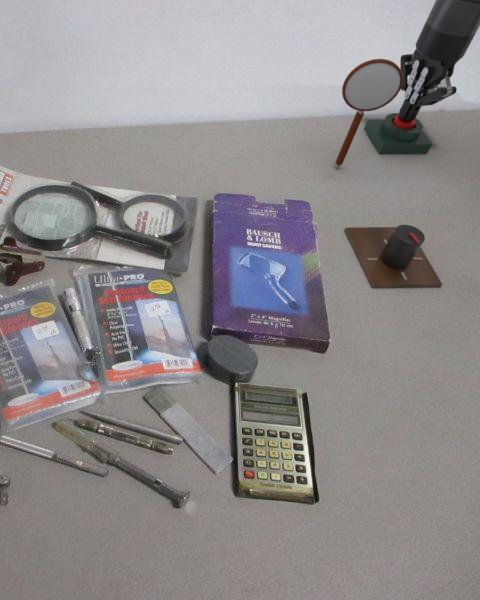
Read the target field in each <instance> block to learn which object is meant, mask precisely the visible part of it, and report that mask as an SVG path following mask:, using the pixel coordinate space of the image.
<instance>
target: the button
mask: <svg viewBox="0 0 480 600" xmlns="http://www.w3.org/2000/svg"><path fill="white" fill-rule="evenodd" d="M392 123H393V124H394V125H395V126H397V127H398V128H401V129H405V130H411V129H413V127H414V125H415V123H416V120H415V119H414V120H412V121H407V122H403V121H402V120H401V119H400V118H399V117H398V115H396V116H395V118H394V120H393V122H392Z"/></svg>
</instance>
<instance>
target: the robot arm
mask: <svg viewBox="0 0 480 600" xmlns="http://www.w3.org/2000/svg"><path fill="white" fill-rule="evenodd" d="M479 29H480V0H435V1H434V3H433V6H432V7H431V9H430V12H429V14H428V16H427V18H426V21H425V23H424V25H423V27H422V29H421V31H420V34H419V35H418V38H417V40H416V42H415V49H414V51H413V53H407V54H402V55H401V56H400V61H399V62H400V66H399V68H400V69H401V72H402V75H403V83H402V87H401V89H400V91H404V100H403V103H402V105H401V107H400V108H399V112H398V113H399V115H398V117H399V118H400V119H401V120H402V121H403V122H407V121H412V120H414V119H415V118H416V119H417V116H418V114H419V112H420V110H421V108H422V107H427V106H434V105H436V104H438V103H439V102H441V101H443V100H445V99H447V98H449V97H451V96H453V95H455V94H456V93H457V87H456V86H454V85H453V86H452V83H451V77H452V76H453V74H454V72H455V66H456V64H457V63H458V62H459V61H460V60H462V58H463V57H464V56H465V54H466V53H467V51H468V49H469V48H470V46H471V44H472V42H473V40H474V39H475V36H476V34H477V32H478V30H479ZM408 76H409V77H408Z"/></svg>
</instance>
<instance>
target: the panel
mask: <svg viewBox="0 0 480 600" xmlns="http://www.w3.org/2000/svg"><path fill="white" fill-rule="evenodd" d="M396 227H397V226H385V227H384V226H373V227H372V226H368V227H366V226H365V227H362V226H361V227H358V226H357V227H354V226H353V227H345V228H344V230H343V231H344V233H345V235H346V237H347V240H348V242H349V244H350V246H351V248H352V250H353V253H354V254H355V257H356V258H357V261H358V262H359V265H360V267H361V269H362V271H363V273H364V275H365V277H366V279H367V282H368V283H369V285H370V287H371V289H413V288H415V289H418V288H419V289H420V288H426V289H427V288H441V287H442V286H443V282H442V281H441V279H440V278H439V276H438V274H437V273H436V271H435V269H434V267H433V266H432V264H431V263H430V261H429V259H428V257H427V255H426V254H425V252H424V250H423V248H422V246H421V247H420V248H419V250H418V251H417V253H416V255H415V256H414V258H413V259H412V261H411V262H410V264H409V265H408V267H406V268H404V269H396V268H392V267H390V266H388V265H386V264H385V263H384V262H383V261H382V259H381V253H382V251H383V249H384V248H385V246H386V244H387V242H388V241H389V239H390V237H391V235H392V234H393V232H394V230H395V228H396Z"/></svg>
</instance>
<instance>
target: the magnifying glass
mask: <svg viewBox="0 0 480 600" xmlns="http://www.w3.org/2000/svg"><path fill="white" fill-rule="evenodd" d="M402 83H403V75H402V72H401V69H400V66H399V65H398V64H397V63H395V62H394V61H392V60H390V59H385V58H374V59H370V60H366V61H363V62H362V63H360V64H359V65H357V66H355V67H354V68H353V69H352V70H351V71H350V72H349V73H348V74H347V75H346V77H345V79H344V81H343V84H342V88H341V95H342V98H343V101H344V102H345V104H346V105H347V106H348V107H349V108H351V109H353V110H356V113H355V115H354V118H353V119H352V121H351V124H350V126H349V129H348V131H347V134H346V136H345V138H344V141H343V142H342V146H341V148H340V150H339V152H338V155H337V157H336V159H335V163H334V164H335V165H334V167H335V168H336V169H339V168H340V167H341V166H342V165H343V163H344V161H345V159H346V156H347V155H348V152H349V150H350V147H351V145H352V144H353V143H352V142H353V140H354V138H355V135H356V133H357V131H358V129H359V127H360V124H361V122H362V120H363V118H364V115H365V113H364V112H372V111H376V110H380V109H382V108H384V107H385V106H387V105H388V104H390V103H391V102H392V101H394V99H395V98H396V97H397V96H398V94H399V93H400V91H401V87H402Z"/></svg>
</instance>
